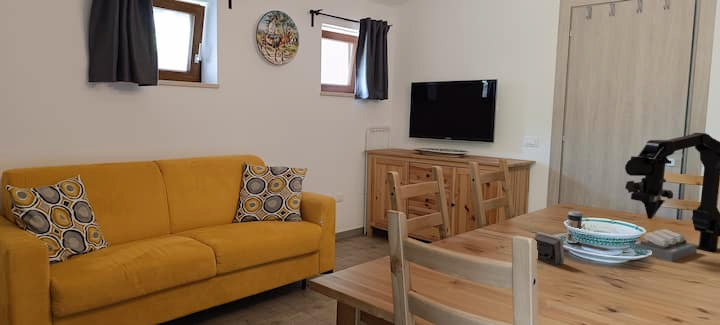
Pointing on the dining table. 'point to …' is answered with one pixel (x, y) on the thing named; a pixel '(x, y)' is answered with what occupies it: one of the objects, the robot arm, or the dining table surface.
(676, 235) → the rocker
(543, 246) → the electrical switch
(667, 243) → the rocker
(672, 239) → the rocker
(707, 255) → the dining table surface
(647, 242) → the console
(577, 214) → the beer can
